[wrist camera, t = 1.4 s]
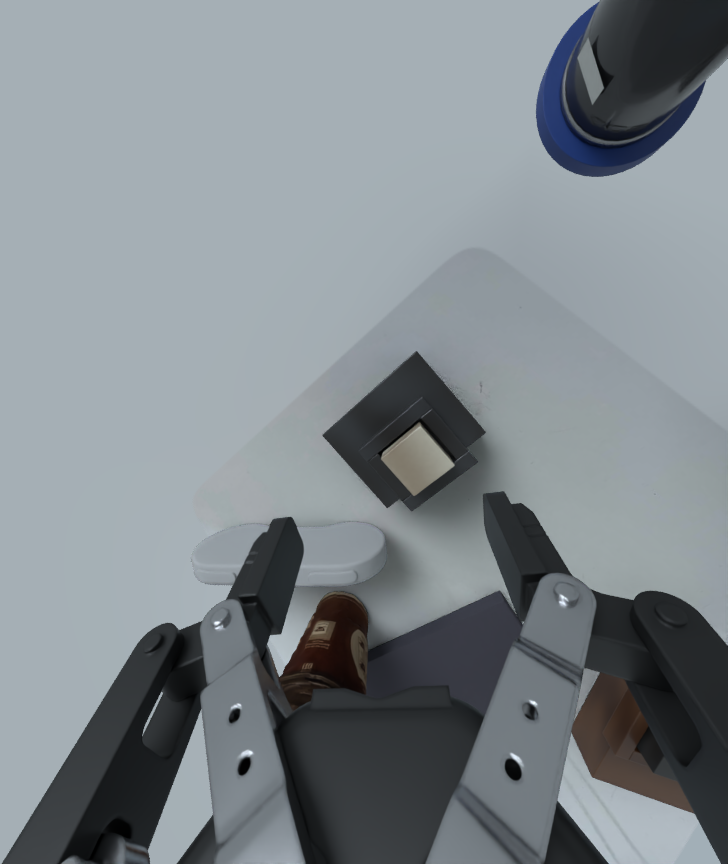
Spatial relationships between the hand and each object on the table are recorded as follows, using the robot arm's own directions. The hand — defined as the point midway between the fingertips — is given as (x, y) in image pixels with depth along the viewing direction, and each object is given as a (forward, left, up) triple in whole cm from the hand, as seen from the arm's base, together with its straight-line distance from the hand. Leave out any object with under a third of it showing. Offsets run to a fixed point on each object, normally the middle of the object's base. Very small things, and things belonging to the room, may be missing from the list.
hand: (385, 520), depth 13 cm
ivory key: (0, +2, -13) cm, 13 cm away
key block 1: (-1, 0, -18) cm, 18 cm away
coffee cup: (+23, 0, -19) cm, 29 cm away
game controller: (+14, -7, -19) cm, 24 cm away
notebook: (+26, +13, -19) cm, 34 cm away
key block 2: (+22, +33, -18) cm, 43 cm away
